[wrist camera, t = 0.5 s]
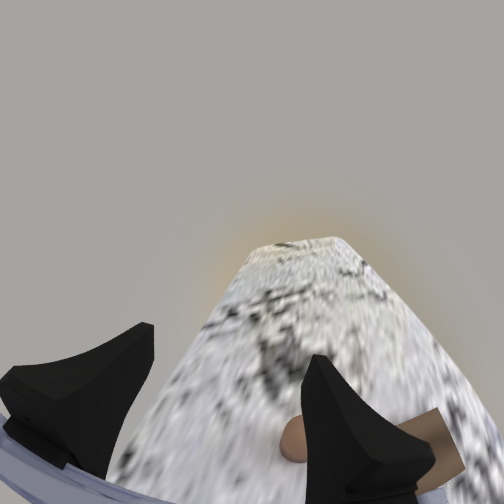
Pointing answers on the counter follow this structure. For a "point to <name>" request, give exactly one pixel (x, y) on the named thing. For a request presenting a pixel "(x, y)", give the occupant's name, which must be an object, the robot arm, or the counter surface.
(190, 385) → the counter surface
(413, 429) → the base
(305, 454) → the tan round knob
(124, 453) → the counter surface
